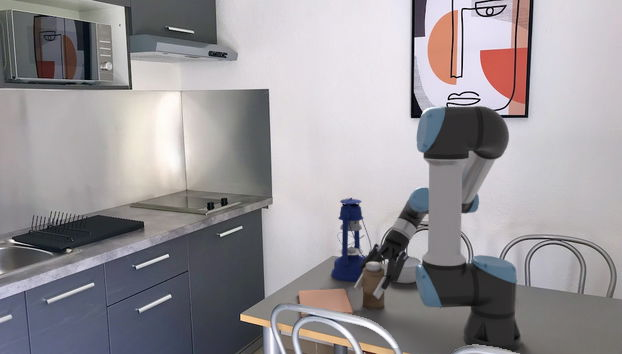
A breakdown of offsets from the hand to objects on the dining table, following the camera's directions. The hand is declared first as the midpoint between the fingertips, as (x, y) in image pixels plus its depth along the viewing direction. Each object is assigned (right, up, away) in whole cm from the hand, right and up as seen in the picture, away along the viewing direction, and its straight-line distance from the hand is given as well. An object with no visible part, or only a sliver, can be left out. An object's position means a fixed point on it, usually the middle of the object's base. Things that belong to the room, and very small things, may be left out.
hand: (366, 292), depth 171 cm
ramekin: (+17, -1, +28) cm, 32 cm away
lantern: (-2, 0, +32) cm, 32 cm away
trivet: (-13, -5, +4) cm, 15 cm away
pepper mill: (+3, -5, +3) cm, 6 cm away
